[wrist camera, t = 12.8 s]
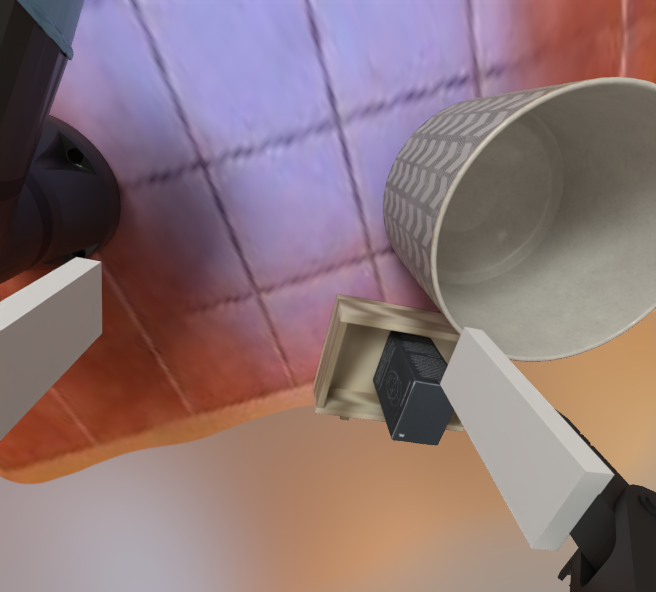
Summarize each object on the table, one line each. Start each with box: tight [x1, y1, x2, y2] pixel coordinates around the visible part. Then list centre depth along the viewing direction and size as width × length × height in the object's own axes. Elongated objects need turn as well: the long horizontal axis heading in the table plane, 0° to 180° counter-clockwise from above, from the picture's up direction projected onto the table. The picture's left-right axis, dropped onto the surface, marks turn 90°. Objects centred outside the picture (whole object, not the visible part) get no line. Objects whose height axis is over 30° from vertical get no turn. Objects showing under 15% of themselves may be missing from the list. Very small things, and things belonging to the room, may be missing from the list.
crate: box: [313, 294, 464, 432], centre depth 47 cm, size 20×14×6 cm
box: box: [373, 331, 454, 445], centre depth 43 cm, size 8×6×11 cm
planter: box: [383, 77, 656, 362], centre depth 33 cm, size 19×19×18 cm
